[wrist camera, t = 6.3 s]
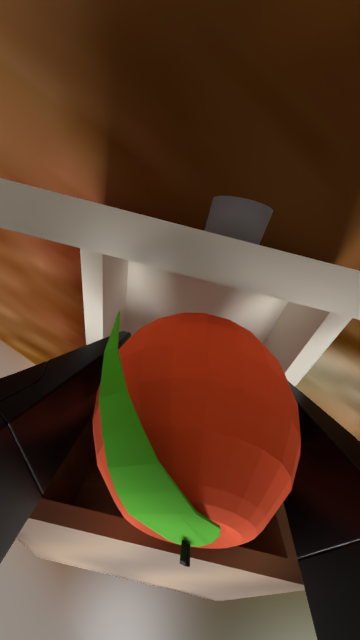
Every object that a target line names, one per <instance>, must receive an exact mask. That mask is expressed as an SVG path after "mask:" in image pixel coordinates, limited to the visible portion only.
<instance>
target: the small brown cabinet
mask: <svg viewBox="0 0 360 640" xmlns="http://www.w3.org/2000/svg"><path fill="white" fill-rule="evenodd" d="M93 414H94V413H93ZM16 538H17V539H18V540H19V541H20V542H21V543H22V544H23V545H24V546H26V547H27V548H28V549H29V550H30V551H31V552H33V554H35V555H36V556H37V557H38V558H42V559H46V560H50V561H55V562H59V563H63V564H67V565H71V566H76V567H80V568H84V569H87V570H92V571H96V572H100V573H104V574H108V575H112V576H116V577H121V578H125V579H129V580H133V581H137V582H141V583H146V584H149V585H153V586H158V587H162V588H166V589H170V590H174V591H178V592H182V593H187V594H191V595H195V596H199V597H203V598H207V599H211V600H216V601H223V600H231V599H238V598H246V597H253V596H262V595H270V594H277V593H285V592H292V591H300V590H305V588H304V584H303V580H302V576H301V572H300V568H299V564H298V558H297V555H296V551H295V547H294V543H293V539H292V535H291V531H290V527H289V523H288V519H287V515H286V511H285V507H284V503H282V504H281V506H280V507H279V509H278V510H277V511H276V513H275V514H274V516H273V517H272V518H271V520H270V521H269V523H268V524H267V525H266V527H265V528H264V530H263V531H262V532H261V533H260V534H259V535H258V536H257V537H256V538H255V539H253V540H251V541H249V542H247V543H244V544H241V545H237V546H234V547H229V548H219V549H210V548H197V547H190V567H186V566H184V565H182V564H180V554H181V545H179V544H174V543H170V542H167V541H164V540H160V539H157V538H155V537H153V536H150V535H148V534H146V533H144V532H142V531H141V530H139V529H138V528H136V527H135V526H133V525H132V524H131V523H129V522H128V521H127V520H126V519H125V518H124V517H123V515H122V514H121V512H120V510H119V509H118V507H117V506H116V504H115V502H114V500H113V498H112V496H111V494H110V492H109V489H108V487H107V485H106V483H105V481H104V479H103V477H102V474H101V472H100V470H99V468H98V466H97V458H96V450H95V443H94V435H93V415H92V417H91V418H90V420H89V421H88V423H87V425H86V426H85V428H84V429H83V431H82V433H81V434H80V436H79V437H78V439H77V441H76V442H75V444H74V446H73V447H72V449H71V450H70V452H69V454H68V455H67V457H66V458H65V460H64V462H63V463H62V465H61V466H60V468H59V470H58V471H57V473H56V474H55V476H54V478H53V479H52V481H51V482H50V484H49V486H48V487H47V489H46V491H45V492H44V494H42V497H41V499H40V500H39V502H38V504H37V505H36V507H35V508H34V510H33V512H32V513H31V515H30V516H29V518H28V520H27V521H26V523H25V525H24V526H23V528H22V529H21V531H20V533H19V534H18V536H17V537H16Z"/></svg>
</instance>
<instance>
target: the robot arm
mask: <svg viewBox="0 0 360 640" xmlns="http://www.w3.org/2000/svg"><path fill="white" fill-rule="evenodd" d="M109 337H110V336H108V337H106V338H103V339H101V340H98V341H96V342H93V343H91V344H88V345H86V346H83V347H81V348H78V349H76V350H73V351H71V352H68V353H66V354H63V355H61V356H58V357H56V358H53V359H51V360H49V361H48V362H47V361H45V362H43V363H40V364H38V365H35V366H33V367H30V368H28V369H25V370H22V371H20V372H17V373H15V374H12V375H9V376H6V377H3V378H0V563H1V562H2V560H3V558H4V557H5V555H6V553H7V552H8V550H9V549H10V547H11V545H12V544H13V542H14V541H15V539H16V537H17V536H18V534H19V533H20V531H21V529H22V528H23V526H24V525H25V523H26V521H27V520H28V518H29V516H30V515H31V513H32V512H33V510H34V508H35V507H36V505H37V504H38V502H39V500H40V499H41V497H42V494H44V492H45V491H46V489H47V487H48V486H49V484H50V482H51V481H52V479H53V478H54V476H55V474H56V473H57V471H58V470H59V468H60V466H61V465H62V463H63V462H64V460H65V458H66V457H67V455H68V454H69V452H70V450H71V449H72V447H73V446H74V444H75V442H76V441H77V439H78V437H79V436H80V434H81V433H82V431H83V429H84V428H85V426H86V425H87V423H88V421H89V420H90V418H91V417H92V415H93V413H94V408H95V402H96V396H97V390H98V388H99V385H100V383H101V375H102V367H103V358H104V351H105V348H106V345H107V343H108V340H109ZM130 337H131V333H130V332H126V331H121V332H119V340H118V350H119V349H120V348H121V346H122V345H123V344H124V343H125V342H126V341H127V340H128V339H129V338H130ZM288 383H289V385H290V387H291V390H292V392H293V395H294V397H295V399H296V402H297V404H298V412H299V423H300V434H301V447H300V458H299V462H298V466H297V470H296V474H295V478H294V482H293V486H292V490H291V492H290V493H289V494H288V496H287V497H286V499H285V500H284V502H283V503H284V507H285V511H286V515H287V519H288V523H289V527H290V531H291V535H292V539H293V543H294V547H295V551H296V555H297V558H298V564H299V568H300V572H301V576H302V580H303V584H304V588H305V591H306V596H307V600H308V604H309V608H310V612H311V615H312V620H313V624H314V628H315V632H316V636H317V639H318V640H360V441H357V439H356V438H355V437H354V436H353V435H352V434H350V433H349V432H348V431H347V430H346V429H345V428H343V427H342V426H341V425H340V424H339V423H337V422H336V421H335V420H334V419H333V418H332V417H330V416H329V415H328V414H327V413H326V412H324V411H323V410H322V409H321V408H320V407H318V406H317V405H316V404H315V403H314V402H313V401H311V400H310V399H309V398H308V397H307V396H305V395H304V394H303V393H302V392H301V391H299V390H298V389H297V388H296V387H295V386H294V385H292V384H291V383H290V382H289V381H288Z"/></svg>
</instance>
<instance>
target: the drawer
mask: <svg viewBox="0 0 360 640" xmlns="http://www.w3.org/2000/svg"><path fill="white" fill-rule="evenodd" d="M272 213H273V209H272V208H270V207H269V206H267V205H265V204H263V203H260V202H257V201H254V200H250V199H246V198H241V197H235V196H216V197H213V200H212V204H211V207H210V211H209V215H208V219H207V223H206V227H205V230H204V231H203V230H199V229H195V228H191V227H188V226H184V225H180V224H176V223H172V222H168V221H164V220H160V219H157V218H153V217H149V216H145V215H141V214H137V213H133V212H129V211H126V210H122V209H118V208H114V207H110V206H106V205H102V204H98V203H95V202H91V201H87V200H83V199H79V198H75V197H71V196H68V195H64V194H60V193H56V192H52V191H48V190H44V189H40V188H37V187H33V186H29V185H25V184H21V183H17V182H13V181H9V180H6V179H2V178H0V228H4V229H8V230H12V231H15V232H19V233H23V234H27V235H31V236H35V237H39V238H43V239H47V240H51V241H54V242H58V243H62V244H66V245H70V246H74V247H78V248H80V256H81V271H82V287H83V302H84V318H85V333H86V345H88V344H91V343H93V342H96V341H98V340H101V339H103V338H106V337H108V336H110V334H111V332H112V329H113V326H114V323H115V321H116V318H117V315H118V312H119V311H120V325H119V332H121V331H126V332H130V333H131V336H132V335H133V334H134V333H136V332H137V331H138V330H139V329H140V328H141V327H143V326H145V325H147V324H149V323H151V322H152V321H154V320H156V319H158V318H162V317H166V316H171V315H175V314H179V313H184V312H192V313H207V314H211V315H214V316H218V317H222V318H225V319H229V320H231V321H233V322H235V323H236V324H238V325H240V326H242V327H244V328H245V329H247V330H249V331H251V332H252V333H253V334H254V335H255V336H256V337H257V338H258V339H259V340H260V342H261V343H262V344H263V345H264V346H265V347H266V348H267V349H268V350H269V351H270V352H271V353H272V354H273V355H274V356H275V358H276V359H277V360H278V361H279V363H280V365H281V367H282V369H283V371H284V374H285V376H286V378H287V380H288V381H289V382H290V383H291V384H292V385H294V386H296V385H297V384H298V382H299V381H300V380H301V379H302V378H303V376H304V375H305V374H306V373H307V372H308V370H309V369H310V368H311V367H312V366H313V364H314V363H315V362H316V361H317V360H318V358H319V357H320V356H321V355H322V354H323V352H324V351H325V350H326V349H327V348H328V347H329V345H330V344H331V343H332V342H333V341H334V339H335V338H336V337H337V336H338V335H339V333H340V332H341V331H342V330H343V329H344V327H345V326H346V325H347V324H348V323H349V321H350V320H351V319H352V318H355V319H359V320H360V271H358V270H354V269H350V268H346V267H342V266H338V265H335V264H331V263H327V262H323V261H319V260H315V259H311V258H307V257H304V256H300V255H296V254H292V253H288V252H284V251H280V250H277V249H273V248H269V247H265V246H261V245H259V244H260V242H261V239H262V237H263V235H264V232H265V230H266V227H267V225H268V223H269V220H270V218H271V216H272Z"/></svg>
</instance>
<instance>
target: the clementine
mask: <svg viewBox="0 0 360 640" xmlns="http://www.w3.org/2000/svg"><path fill="white" fill-rule="evenodd" d="M119 325H120V311H119V312H118V315H117V318H116V321H115V323H114V326H113V329H112V332H111V334H110V337H109V340H108V343H107V345H106V348H105V351H104V358H103V367H102V375H101V383H100V385H99V388H98V390H97V396H96V402H95V408H94V414H93V435H94V443H95V450H96V458H97V466H98V468H99V470H100V472H101V474H102V477H103V479H104V481H105V483H106V485H107V487H108V489H109V492H110V494H111V496H112V498H113V500H114V502H115V504H116V506H117V507H118V509H119V510H120V512H121V514H122V515H123V517H124V518H125V519H126V520H127V521H128V522H129V523H131V524H132V525H133V526H135V527H136V528H138V529H139V530H141V531H142V532H144V533H146V534H148V535H150V536H153V537H155V538H157V539H160V540H164V541H167V542H170V543H174V544H179V545H181V554H180V564H182V565H184V566H186V567H190V547H197V548H210V549H219V548H229V547H234V546H237V545H241V544H244V543H247V542H249V541H251V540H253V539H255V538H256V537H257V536H258V535H259V534H260V533H261V532H262V531H263V530H264V528H265V527H266V525H267V524H268V523H269V521H270V520H271V518H272V517H273V516H274V514H275V513H276V511H277V510H278V509H279V507H280V506H281V504H282V503H283V502H284V500H285V499H286V497H287V496H288V494H289V493H290V492H291V490H292V486H293V482H294V478H295V474H296V470H297V466H298V462H299V458H300V447H301V434H300V423H299V412H298V404H297V402H296V399H295V397H294V395H293V392H292V390H291V387H290V385H289V383H288V380H287V378H286V376H285V374H284V371H283V369H282V367H281V365H280V363H279V361H278V360H277V359H276V358H275V356H274V355H273V354H272V353H271V352H270V351H269V350H268V349H267V348H266V347H265V346H264V345H263V344H262V343H261V342H260V340H259V339H258V338H257V337H256V336H255V335H254V334H253V333H252V332H251V331H249V330H247V329H245V328H244V327H242V326H240V325H238V324H236V323H235V322H233V321H231V320H229V319H225V318H222V317H218V316H214V315H211V314H207V313H192V312H184V313H179V314H175V315H171V316H166V317H162V318H158V319H156V320H154V321H152V322H151V323H149V324H147V325H145V326H143V327H141V328H140V329H139V330H138V331H137V332H136V333H134V334H133V335H132V336H131V337H130V338H129V339H128V340H127V341H126V342H125V343H124V344H123V345H122V346H121V348H120V349H119V350H118V340H119Z"/></svg>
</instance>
